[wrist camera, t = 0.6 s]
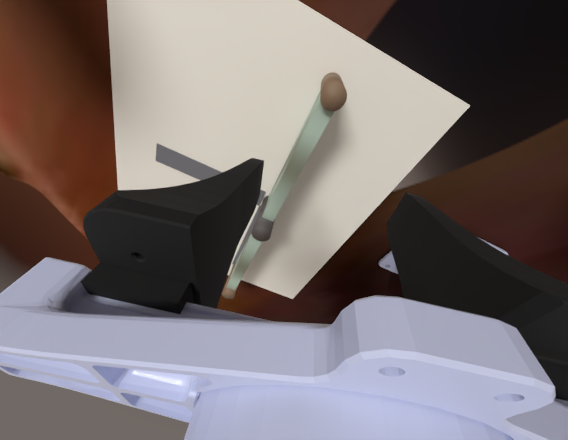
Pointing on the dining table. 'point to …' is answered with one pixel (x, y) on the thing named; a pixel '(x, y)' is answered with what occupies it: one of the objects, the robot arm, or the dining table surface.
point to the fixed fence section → (248, 251)
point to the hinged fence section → (306, 140)
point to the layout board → (267, 116)
